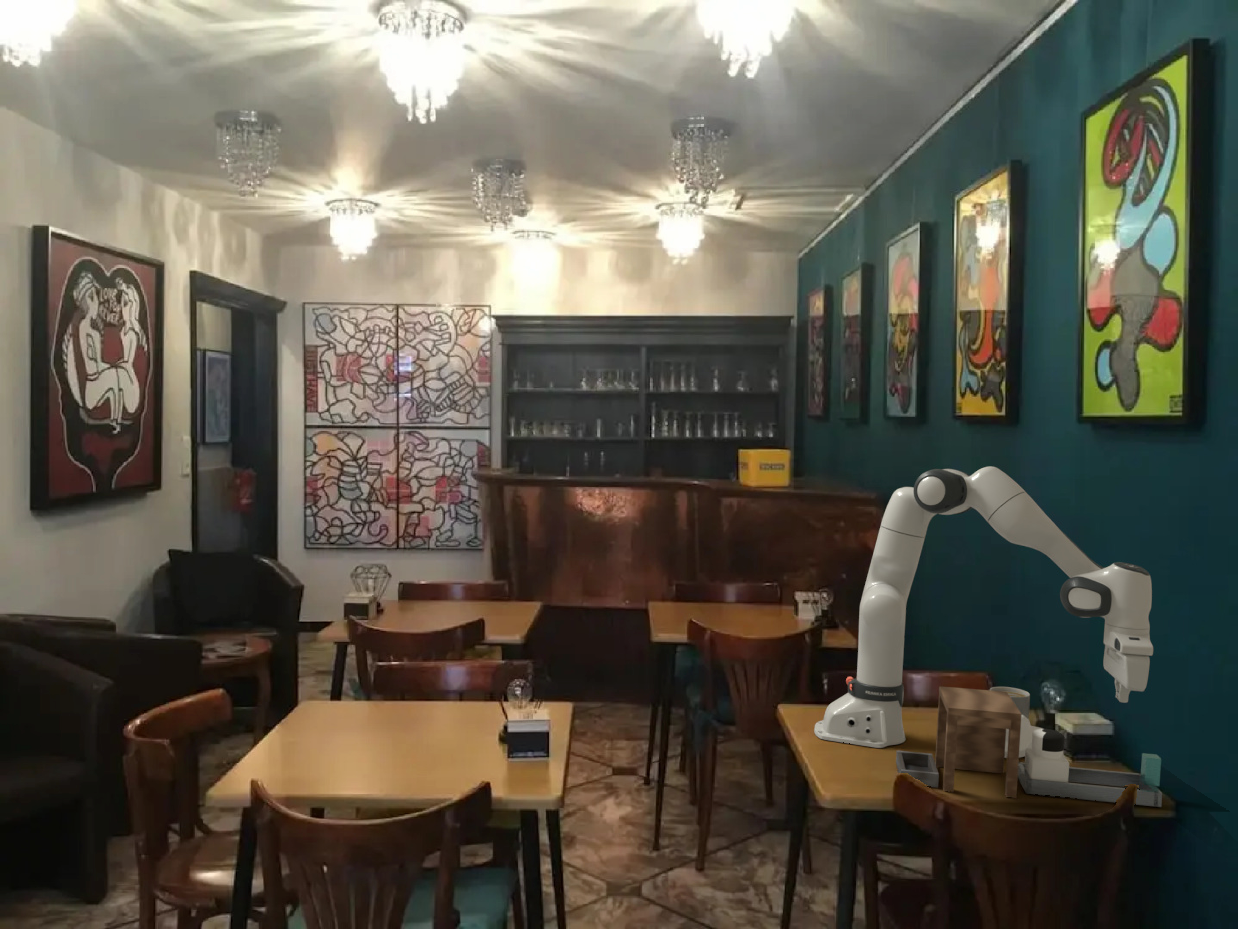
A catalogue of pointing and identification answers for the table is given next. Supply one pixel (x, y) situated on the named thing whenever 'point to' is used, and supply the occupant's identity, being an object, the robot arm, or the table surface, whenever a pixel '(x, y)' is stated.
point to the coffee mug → (1017, 698)
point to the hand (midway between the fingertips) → (1121, 700)
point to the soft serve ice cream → (1023, 736)
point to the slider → (1145, 780)
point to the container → (1047, 756)
